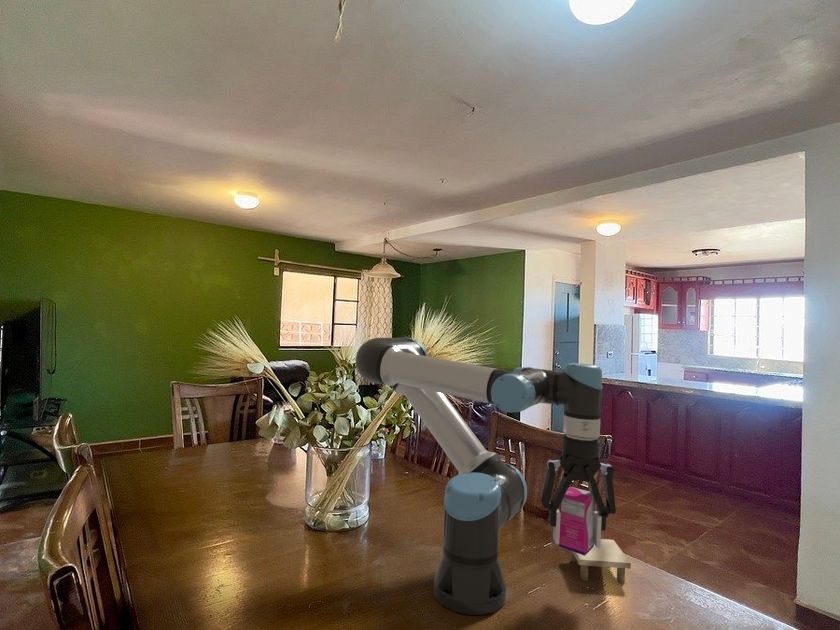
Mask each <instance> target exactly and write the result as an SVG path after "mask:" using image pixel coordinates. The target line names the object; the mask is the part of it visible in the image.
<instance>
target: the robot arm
mask: <svg viewBox="0 0 840 630" xmlns="http://www.w3.org/2000/svg"><path fill="white" fill-rule="evenodd" d="M355 367H356V371H357V372H358V374H359V375H360V376H361V378H362V379H364V380H365V381H366V382H369V383H372V384H373V383H374V384H379V385H383V386H387V387H388V386H389V387H391V389H393V391H394V392H395V394H396V395H401V396H404V397H405V398H406V399H407V401H408V402H409V404H410V405H411V406H412V408H413V409H414V411H415V412H416V413H417V415H418V416H419V418H420V419H421V421H422V422H423V423H424V425H425V426H426V428H427V429H428V430H429V432H430V433H431V435H432V436H433V438H434V439H435V440H436V441H437V444H438V445H439V446H440V447H441V449H442V450H443V452H444V453H445V454H446V456H447V457H448V459H449V460H450V461H451V463H452V465H453V466H454V467H455V469H456V470H457V472H458V474H456V475H455V476H453V477H451V478H450V479H449V480H448V482H447V483H446V486H445V490H444V491H445V492H444V496H443V535H442V539H443V540H442V541H443V545H442V548H443V549H442V555H441V558H440V560H439V564H438V566H437V569H436V572H435V574H434V576H433V577H434V578H433V594H434V597H435V600H437V601H438V602H439V603H440V605H442V606H444V607H445V608H447V610H451V611H453V612H456V613H457V614H458V613H459V614H462V615H467V616H468V615H470V616H483V615H488V614H493V613H494V612H497V611H498V610H500V609H501V608H502V607H503V606H504V605H505V603H506V600H507V584H506V581H505V577H504V574H503V570H502V566H501V563H500V559H499V550H500V549H499V546H500V531H501V529H502V528H503V527H504V526H505V525H506V524H507V523H508V522H510V521H511V520H512V519H513V518H515V517H516V516H517V515H518V514H519V513H520V511H522V509H523V507H524V505H525V503H526V501H527V498H528V497H527V496H528V486H527V482H526V480H525V477H524V476H523V474H522V473H521V471H520V470H518V468H517V467H515V466H513V465H512V464H509V463H505V462H504V461H503V460H502V459H501V457H500V456H499V454H498V453H496V452H494V451H488V450H487V449H486V448H485V446H484V445H483V444H482V443H481V441H480V440H479V439H478V437H477V436H476V435H475V433H474V432H473V431H472V429H471V428H470V427H469V425H468V424H467V422H466V421H465V420H464V418H463V417H462V416H461V415H460V413H459V412H458V410H457V409H456V408H455V406H454V405H453V403H451V401H450V400H449V398H448V397H447V396H446V395H449V396H453V397H458V398H462V399H467V400H471V401H476V402H480V403H485V404H489V405H493V406H496V407H497V408H498V409H499V410H501V411H503V412H505V413H510V414H511V413H520V412H524V411H526V410H527V409H528V408H531V407H532V406H533V407H534V406H535V405H538V404H548V405H555V406H562V407H563V421H562V423H563V424H562V432H563V433H564V434H563V435H562V438H561V439H562V440H561V441H562V442H561V443H562V444H561V455H560V457H559V459H556V460H554V459H553V460H552V459H550V458H548V459H546V468H547V469H546V476H545V479H544V480H545V481H544V485H543V489H542V495H541V499H540V503H541V505H542V507H543V509H547V510H548V511H549V514H548V516H549V517H548V522H549V525H550V527H553V530H552V531H553V532H552V539H553V541H554V543H555V545H559V538H560V517H561V513H560V504H561V502H562V500H563V497H564V495H565V493H566V491H567V489H568V488H569V487H570V485H572V483H573V481H575V482H576V481H582V482H587V484H588V487H589V489H590V492H592V493H593V495H594V499H595V507H596V508H597V510H598V511H596V510H595V517H594V544H595V546H596V547H597V548H600V543H601V539H602V531H603V532H605V531H606V529H607V518H608V517H609V515H615V514H616V513H617V507H616V501H615V500H616V499H615V498H616V497H615V492H614V491H615V490H614V483H613V482H614V481H613V476H614V471H615V468H614V467H613V466H612V465H611V464H610V463H607V462H606V463H602V462H601V461H600V439H599V437H600V435H601V414H602V413H601V412H602V398H603V389H604V388H603V387H604V386H603V372H602V371H603V370H602V368H601V367H600V366H599V365H597V364H590V363H579V362H578V363H577V362H570V363H569V362H568V363H567V364H566V365H565V369H564V370H550V369H543V368H534V367H530V366H528V367H519V366H518V367H514V369H513V370H507V369H502V368H501V369H499V368H494V367H490V366H483V365H478V364H473V363H466V362H462V361H461V362H460V361H456V360H450V359H445V358H439V357H433V356H429V355H428V351H427V350H426V348H425V347H424V345H423V344H422V343H421V342H419V340H417V339H414V338H410V337H406V336H399V337H374V338H371V339H369V340H366V341H365V342H363V343H362V344H361V346H360V347H359V348H358V350H357V352H356V355H355ZM559 467H561V468H562V470H563V471H564V472H563V474H562V475H561V479H560V481H559V483H558V485H557V487H556V489H555V492H554V494H553V495H552V493H553V492H552V491H553V487H554V483H555V479H556V472H557V471H558V470H559ZM599 470H600V473H601V474H602V480H603V490H604V498H605V503H606V504H605V503H604V500H603V498H602V495H601V493H600V491H599V487H598V484H597V481H596V478H595V475H596V474H597V472H599Z"/></svg>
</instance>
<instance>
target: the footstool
mask: <svg viewBox="0 0 840 630" xmlns="http://www.w3.org/2000/svg"><path fill="white" fill-rule="evenodd" d="M571 562H573V563H578V565H579V566H580V580H581V581H583V582H588V581H589V566H590V567H591V566H592V567H604V568H616V582H617V583H618V584H621V585H623V584H626V583H625V582H626V581H625V580H626V569H627V570H628V569H629V570H630V569H631V568H632V567H631V566H632V564H631V562H630V560H629V558H628V556H626V555H625V553H624V552H623V551H622V548H620V546H619V545H618V544H617V542H616V541H615V540H614V539H609V538H608V539H607V538H601V543H600V548H597V547H596V546H595V544H594V547H593V548H592V549H591V550H590V551H589V552H588V553H587V554H586V555H585V556H584V555H581V554H579V553H576V552H573V551H571Z"/></svg>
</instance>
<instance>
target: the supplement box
mask: <svg viewBox="0 0 840 630" xmlns="http://www.w3.org/2000/svg"><path fill="white" fill-rule="evenodd" d="M595 507H596V503H595V499H594V495H593V493H592V492H591V491H588V490H584V489H580V488H576V487H574V486H569V487H568V489H567V491H566V493H565V495H564V497H563V500H562V502H561V504H560V506H559V511H560V513H561V517H560V538H559V544H558V546H559V547H560V548H563V549H566V550H569V551H571V552H572V551H573V552H576V553H579V554H581V555H584V556H585V555H586V554H587V553H588V552H589V551H590V550H591V549H592V548H593V547H594V517H595V511H596V510H595V509H596V508H595Z"/></svg>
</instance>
